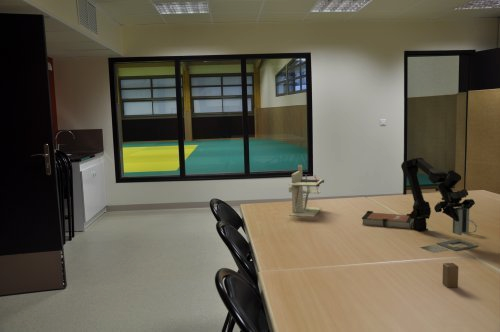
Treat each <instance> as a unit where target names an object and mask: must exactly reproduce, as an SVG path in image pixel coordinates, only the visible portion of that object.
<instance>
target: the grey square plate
mask: <svg viewBox="0 0 500 332" xmlns="http://www.w3.org/2000/svg"><path fill="white" fill-rule="evenodd" d="M419 248H420V249H422V250H425V251H427V252H430V253H433V254H437V253H442V252H447V251H449V249H448V248H445V247H442V246H440V245H437V244H436V245H435V244H431V245H425V246H421V247H419Z"/></svg>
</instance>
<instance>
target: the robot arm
mask: <svg viewBox="0 0 500 332" xmlns="http://www.w3.org/2000/svg"><path fill="white" fill-rule="evenodd" d="M400 166H401V167H400V168H401V170H402V173H403V174H404V175H405V176H406V177H407V178H408V183H409V187H410V190H411V195H412V198H413V202H414V203H413V205H412V211H411V212H410V213H409V214H410V218H412V219H413V222H412V227H410V229H411V230H415V231H417V232H423V231H424V232H425V231H429V229H428V228H427V226H428V225H427V224H428V223H427V220H429V219H430V217H431V213H432V210H431V209H432V208H431V206H430V202H429V201H426V200H425V199H424V195H423V192H422V188H421V185H420V182H419V177H418V173H419V170H421V171H422V172H423V173H425V174H426V176H427V177H428V178H427V179H428V180H429V181H430V182H431V183H432V184H438V185H436V186H435V192H439V193H440V195H441V200H442V201H441V200H440V201H438V202H437V203H436V205H435V206H434V212H435V213H442V214H445V215H446V216H448V217H450V218H451V219H452V220H453V219H454V220H455V221H457V222H458V221H459V220H458V217H457V215H456V213H455V212H454V208H459V207H464V208H467V209H469V210H470V209H471V208H472V207H473V206H474V205H476V202H475V201H474V199H473V198H468V199H467V196H469V192H468V190H467V189H466V188H464V189H460V190H455V191H454V190H453V189H454V188H455V187H456V186H457V184H459V183H460V181H461V180H462V176H461V174H459V173H458V172H455V171H454V169H449V170H448V171H447V172H446V171H443V170H440V169H437V168H435V167H434V166H432V165H431V164H430V163H428V162H427V161H426V160H425V159H424V158H423V157H414V158H411V159H409V160H405V161H402V163H401V165H400ZM463 198H466V199H463ZM462 200H463V201H462Z"/></svg>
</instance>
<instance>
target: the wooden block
mask: <svg viewBox="0 0 500 332" xmlns="http://www.w3.org/2000/svg"><path fill="white" fill-rule="evenodd" d="M442 284H443V285H444V286H445V287H446V288H449V289H450V288H459V266H458V265H457V264H455V263H453V262H445V263H442Z"/></svg>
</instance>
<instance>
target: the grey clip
mask: <svg viewBox="0 0 500 332" xmlns="http://www.w3.org/2000/svg"><path fill="white" fill-rule="evenodd" d="M453 208H454V212H455V213H456V215H457V217H458V220H459V221H458V222H457V221H455V220H454V219H452V233H453V234H455V235H458V236H462V235H470V234H469V232H470V231H469V230H470V229H469V228H470V222H469V219H470V209H467V208H464V207H453Z"/></svg>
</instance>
